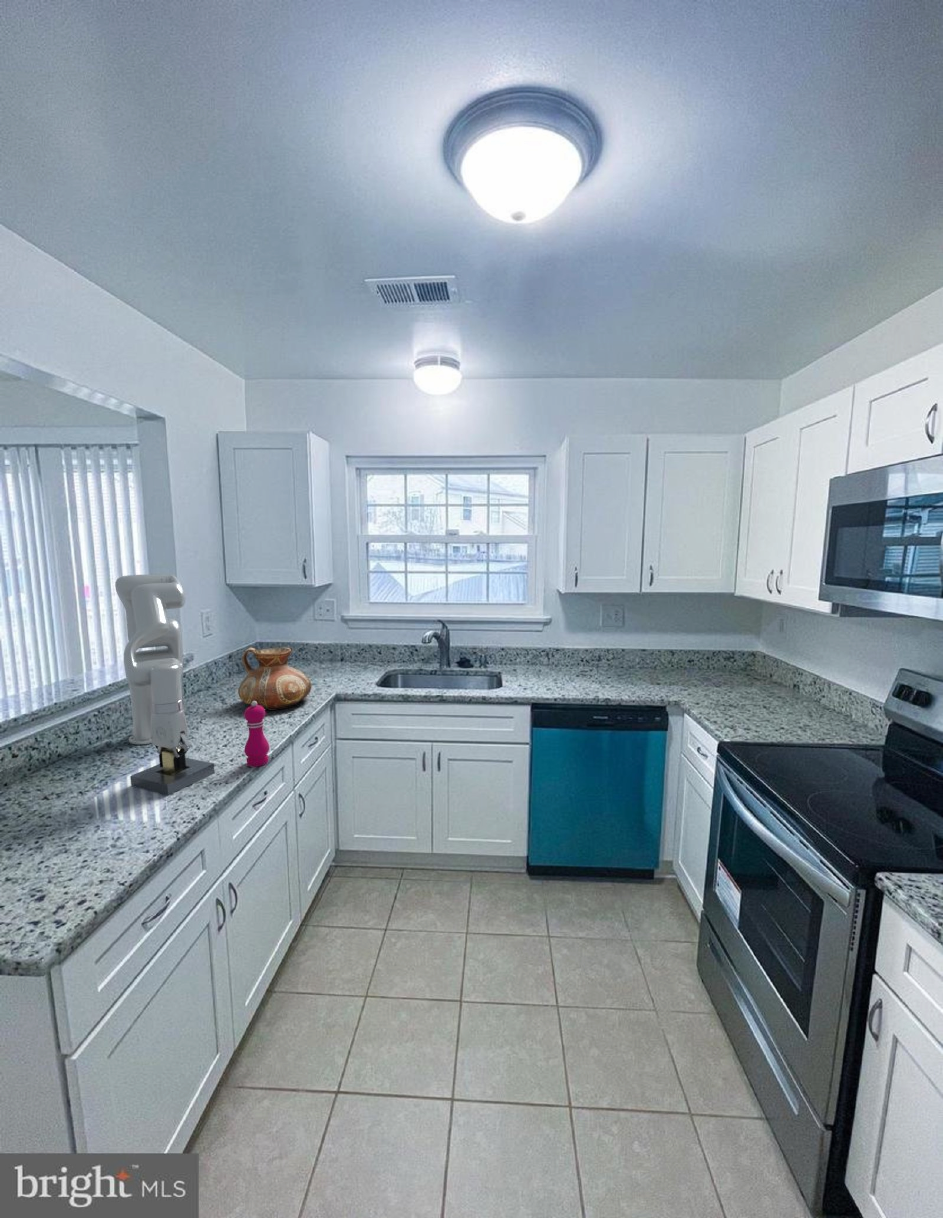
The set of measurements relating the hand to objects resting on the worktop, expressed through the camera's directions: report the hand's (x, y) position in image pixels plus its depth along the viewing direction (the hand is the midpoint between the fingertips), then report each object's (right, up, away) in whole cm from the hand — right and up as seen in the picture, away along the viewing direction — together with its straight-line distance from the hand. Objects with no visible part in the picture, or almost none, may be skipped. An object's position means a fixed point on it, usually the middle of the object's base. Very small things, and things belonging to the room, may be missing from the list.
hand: (172, 766), depth 149 cm
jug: (+3, +5, +73) cm, 74 cm away
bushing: (0, -4, 0) cm, 4 cm away
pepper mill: (+20, -3, +12) cm, 23 cm away
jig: (0, -4, 0) cm, 4 cm away
